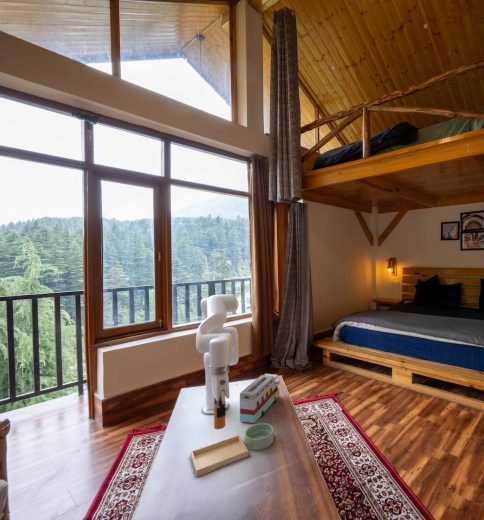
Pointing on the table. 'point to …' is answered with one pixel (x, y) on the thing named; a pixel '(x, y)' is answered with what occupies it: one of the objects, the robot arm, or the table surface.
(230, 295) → the robot arm
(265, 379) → the multicoloured piece
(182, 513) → the table surface
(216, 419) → the bottle
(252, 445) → the bowl
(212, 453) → the tray
